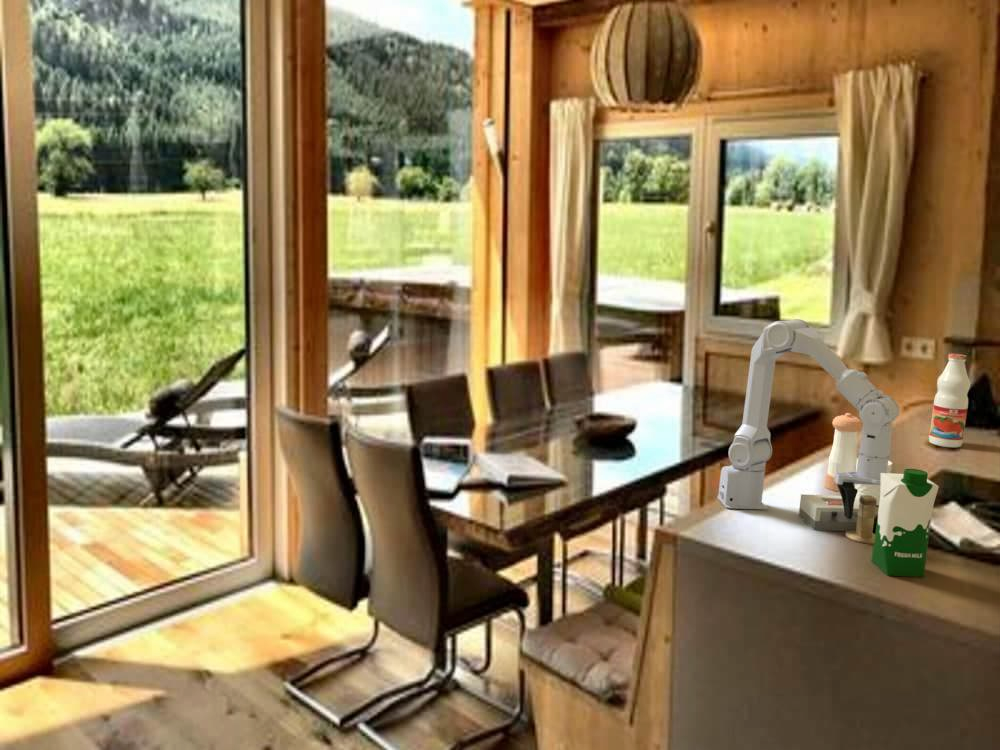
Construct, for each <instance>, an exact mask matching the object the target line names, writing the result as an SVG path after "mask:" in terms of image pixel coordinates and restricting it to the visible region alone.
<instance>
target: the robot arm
mask: <svg viewBox="0 0 1000 750" xmlns="http://www.w3.org/2000/svg"><path fill="white" fill-rule="evenodd" d="M789 351H790V352H791V353H796V354H797V353H798V354H803V355H808V356H809V357H810V358H811V359H812V360H813V361H815V362H816V363H817V364H818V365H819V366H820V367H821V369H823V370H824V371H826V372H827V374H829V375H830V376H831V377H832V378H833V379H834V380H835V387H836V388H835V389H836V390H837V391H838V392H839V393H840V394H841V395H842V396H843V397H844V398H845V399H846V400H847V402H849V403H850V404H851V405H852V407H854V408H855V410H857V411H858V415H859V419H860V420H861V422H862V425H863V427H862V429H861V434H860V435H861V436H860V444H859V452H858V457H859V458H858V457H857V458H858V466H857V472H846V473H835V479H834V482H836V483H837V486H838V488H839V491H840V492H839V493H840V494H839V495H840V496H841V497H842V501H843V503H842V504H843V506H844V516H846V517H847V518H848V519H852V515H853V507H854V501H855V497H856V494H857V492H858V490H857V489H856V488H855V486H854V484H869V485H881V473H887V467H888V461H889V460H890V458H889V456H890V452H891V451H890V450H891V442H892V434H893V432H892V431H893V424H894V423H893V422H894V421H895V420H896V419H897V418H898V416H899V415H900V410H899V409H900V408H899V406H898V403H897V402H896V401H895V399H894V397H892V396H889V395H884V392H883V391H882V390H881V389H879V390H878V388H876V386H874V384H872V382H871V381H869V380H868V379H867V378H868V375H867V374H866V373H865V371H861V372H860V371H859V370H858V369H849V368H848V367H847V365H845V364H844V362H843V361H842V360H841V359H840V358H839V356H838V355H836V354H835V352H834V351H833V350H832V349H831V348H830V346H828V345H827V343H826V342H825V341H824V340H823V339H822V338H821V337H820V335H819V333H818V331H816V329H814V328H813V327H810V325H809V323H808V322H806V321H805V320H803V319H799V318H796V319H792V320H776V321H773V322H772V323H770V324H768V325H767V326H765V327H764V328H763V330H762V334H761V335H760V337H758V339H757V340H756V342H755V344H753V346H752V348H751V352H750V353H751V355H750V362H749V369H748V377H747V384H746V392H745V393H746V394H745V400H744V407H743V416H742V423H741V425H740V427H739V428H738V429H737V430H736V432H735V433H734V438H733V442H732V443H731V445H730V446H729V448H728V459H729V461H730V462H731V465H728V466H726V465H725V466H722V468H721V471H720V475H719V486H718V487H719V488H718V495H717V499H718V500H719V501H720V502H721V504H722V505H723V506H724V507H725V508H726V509H738V510H739V509H740V510H742V509H743V510H768V507H767V506H766V505H765V503H764V502H763V501H762V500H763V492H764V485H765V484H764V483H765V474H766V464H767V463H766V462H767V461H769V460H770V459H771V457H772V454H773V446H772V443H771V435H772V434H771V432H770V430H769V428H768V418H769V412H770V404H771V397H772V390H773V382H774V376H775V368H776V361H777V359H779V358H780V357H781V356H783V355H785V354H786V353H788V352H789Z"/></svg>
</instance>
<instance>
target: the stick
mask: <svg viewBox="0 0 1000 750" xmlns="http://www.w3.org/2000/svg"><path fill="white" fill-rule="evenodd" d="M876 503H877V499H876V498H874V497H873V496H870V495H860V499H859V510H858V518H857V526H856V535H858V536H859V537H860V538H872V533H874V532H873V531H874V525H875V515H876V507H877V505H876Z"/></svg>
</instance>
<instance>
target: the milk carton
mask: <svg viewBox="0 0 1000 750" xmlns="http://www.w3.org/2000/svg"><path fill="white" fill-rule="evenodd" d="M903 471H904V472H903V473H893V472H891V473H881V487H880V502H879V505H878V512H877V519H876V520H877V521H876V526H875V533H874V534H875V542H874V544H873V549H872V556H871V561H870V562H872V564H874V565H875V566H876V567H877V568H878V569H880V570H881V571H882V572H883V573H884V574H885V575H886V576H887V577H888V576H890V577H914V578H915V577H916V578H917V577H918V578H924V577H925V569H926V561H927V557H928V556H927V555H928V546H929V540H930V532H931V526H932V525H931V524H932V517H933V512H934V511H933V510H934V504H935V500H936V499H937V498H936V497H937V494H938V491H939V487H940V486H939V485H938V484H936V483H934V482H933V481H932V480H930V479H929V478H928V475H929V474H928V471H925V470H922V469H916V468H905V469H904V470H903Z"/></svg>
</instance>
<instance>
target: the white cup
mask: <svg viewBox="0 0 1000 750" xmlns="http://www.w3.org/2000/svg"><path fill="white" fill-rule="evenodd" d="M858 458H859V456H857V459H856V472H857V466H858ZM892 468H893V462H892V461H890V460H888V467H887V473H892ZM880 487H881V485H869V484H855V488H856V489H857V490H858V492H857V494H856V497H855V498H857V499H858V500H859V499H860V495H870V496H873V497H874V498H876V499H877V503H876V506H879V502H880Z"/></svg>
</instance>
